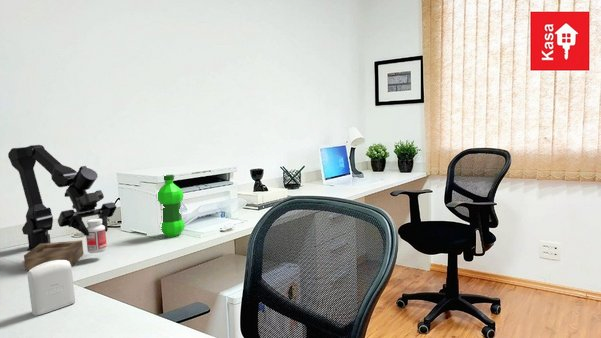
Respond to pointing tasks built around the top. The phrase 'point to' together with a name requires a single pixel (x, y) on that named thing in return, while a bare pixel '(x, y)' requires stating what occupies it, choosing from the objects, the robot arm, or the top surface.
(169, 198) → the plastic bottle
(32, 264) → the wooden tray
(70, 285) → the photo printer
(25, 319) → the top surface
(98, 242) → the pill bottle
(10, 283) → the top surface
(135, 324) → the top surface
